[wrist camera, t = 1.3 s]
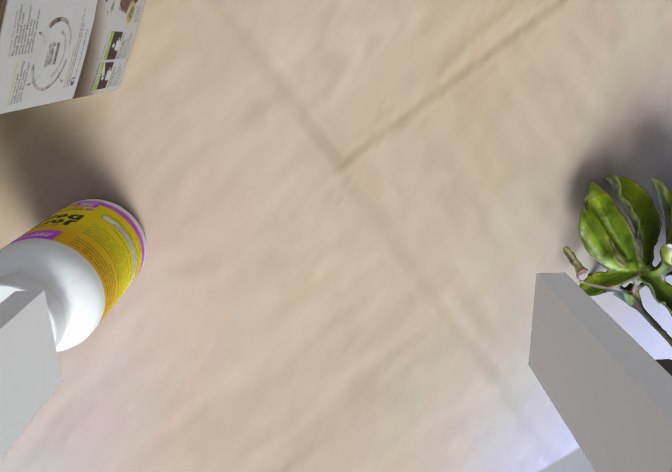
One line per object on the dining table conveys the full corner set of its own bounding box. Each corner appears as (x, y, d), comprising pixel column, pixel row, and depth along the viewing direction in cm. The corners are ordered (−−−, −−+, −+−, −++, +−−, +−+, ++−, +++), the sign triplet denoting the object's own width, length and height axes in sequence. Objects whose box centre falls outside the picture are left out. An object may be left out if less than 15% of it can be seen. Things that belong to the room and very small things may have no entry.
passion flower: (648, 206, 47) (797, 306, 39) (543, 292, 47) (672, 409, 39) (650, 113, 38) (841, 219, 31) (521, 219, 38) (680, 351, 31)
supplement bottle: (113, 179, 40) (22, 241, 28) (167, 260, 42) (104, 351, 30) (32, 223, 41) (-91, 303, 28) (88, 301, 43) (-5, 406, 30)
